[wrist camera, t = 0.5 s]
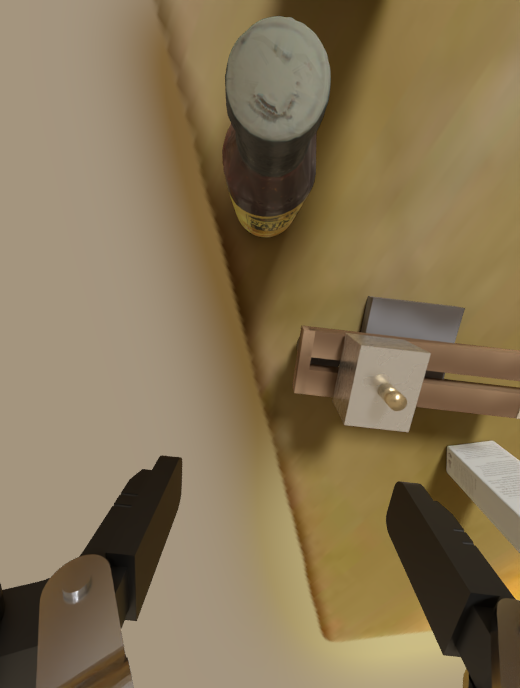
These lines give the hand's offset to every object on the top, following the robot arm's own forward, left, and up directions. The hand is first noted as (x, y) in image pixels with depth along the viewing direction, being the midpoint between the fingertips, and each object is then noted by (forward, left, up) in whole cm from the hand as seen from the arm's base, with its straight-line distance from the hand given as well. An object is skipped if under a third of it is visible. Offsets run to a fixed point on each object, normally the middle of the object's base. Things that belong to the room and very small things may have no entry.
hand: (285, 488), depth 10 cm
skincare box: (+13, +28, -24) cm, 39 cm away
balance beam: (0, +15, -24) cm, 28 cm away
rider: (0, +8, -16) cm, 18 cm away
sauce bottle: (-14, -2, -24) cm, 28 cm away
